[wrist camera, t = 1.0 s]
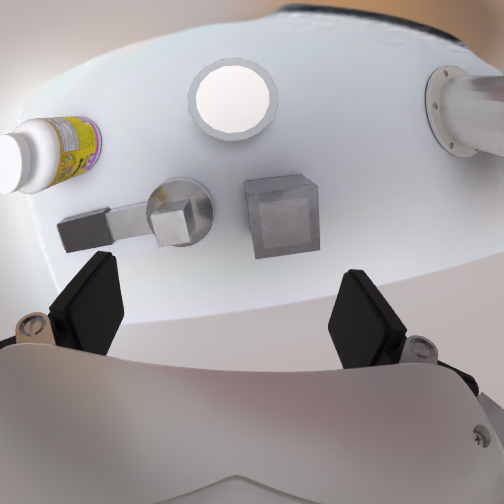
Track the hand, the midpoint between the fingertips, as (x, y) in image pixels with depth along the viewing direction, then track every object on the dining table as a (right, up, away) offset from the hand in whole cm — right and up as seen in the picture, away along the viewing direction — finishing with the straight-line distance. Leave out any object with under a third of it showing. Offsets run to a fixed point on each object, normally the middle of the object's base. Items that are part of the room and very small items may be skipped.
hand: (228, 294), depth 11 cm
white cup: (-1, +16, +14) cm, 21 cm away
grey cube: (+3, +7, +18) cm, 20 cm away
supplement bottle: (-18, +14, +14) cm, 27 cm away
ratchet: (-13, +5, +18) cm, 23 cm away
